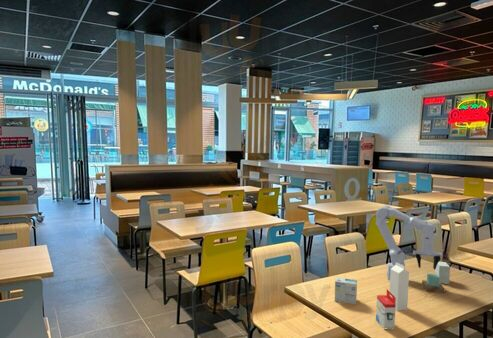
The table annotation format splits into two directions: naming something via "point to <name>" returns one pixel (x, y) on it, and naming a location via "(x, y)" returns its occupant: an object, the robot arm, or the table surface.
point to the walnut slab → (433, 287)
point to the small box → (443, 272)
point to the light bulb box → (345, 290)
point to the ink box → (386, 310)
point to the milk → (399, 286)
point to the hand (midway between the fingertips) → (426, 268)
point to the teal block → (433, 279)
